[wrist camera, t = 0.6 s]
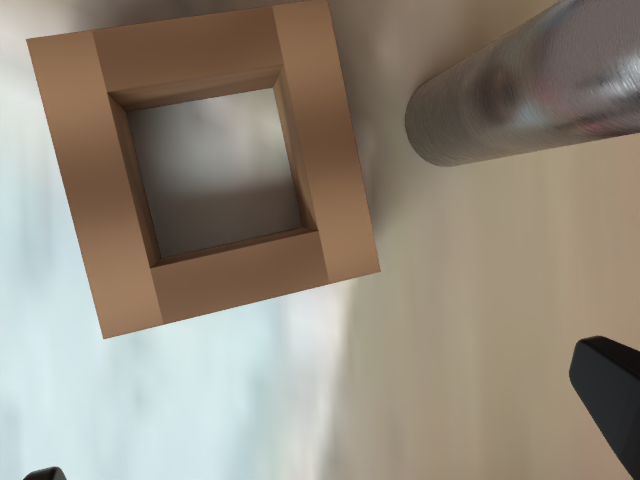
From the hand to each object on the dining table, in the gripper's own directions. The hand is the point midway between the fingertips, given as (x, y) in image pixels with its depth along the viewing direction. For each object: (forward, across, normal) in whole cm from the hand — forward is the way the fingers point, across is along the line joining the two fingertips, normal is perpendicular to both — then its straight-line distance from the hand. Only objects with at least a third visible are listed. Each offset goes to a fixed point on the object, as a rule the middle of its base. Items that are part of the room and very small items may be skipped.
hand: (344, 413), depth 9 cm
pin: (+15, -9, 0) cm, 17 cm away
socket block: (+14, +1, +1) cm, 14 cm away
